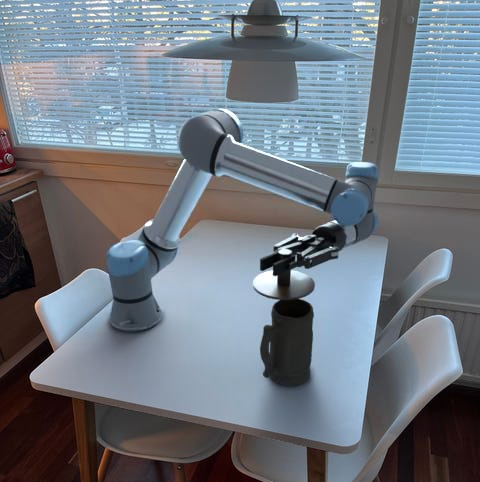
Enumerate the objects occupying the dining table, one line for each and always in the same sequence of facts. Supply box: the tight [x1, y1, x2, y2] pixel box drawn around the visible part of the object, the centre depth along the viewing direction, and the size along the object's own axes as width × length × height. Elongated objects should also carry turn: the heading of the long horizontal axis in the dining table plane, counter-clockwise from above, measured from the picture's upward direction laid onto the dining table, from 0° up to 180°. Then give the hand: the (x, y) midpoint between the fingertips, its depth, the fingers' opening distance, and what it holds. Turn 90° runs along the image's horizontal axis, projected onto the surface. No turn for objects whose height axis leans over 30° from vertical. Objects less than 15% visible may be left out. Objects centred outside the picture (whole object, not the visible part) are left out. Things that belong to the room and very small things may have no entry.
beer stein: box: [259, 298, 315, 387], centre depth 115 cm, size 15×11×20 cm
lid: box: [252, 249, 316, 301], centre depth 105 cm, size 14×14×8 cm
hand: (267, 267), depth 100 cm, fingers closed on lid, 3 cm apart
